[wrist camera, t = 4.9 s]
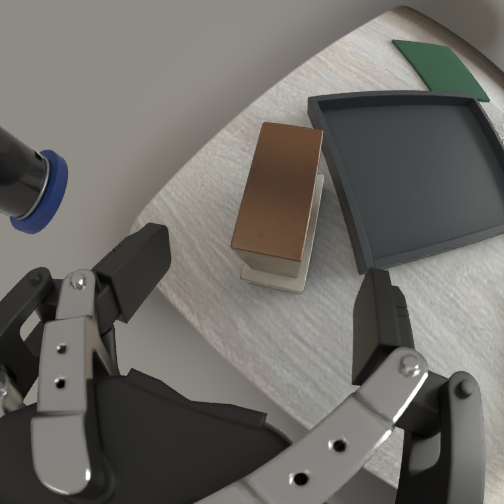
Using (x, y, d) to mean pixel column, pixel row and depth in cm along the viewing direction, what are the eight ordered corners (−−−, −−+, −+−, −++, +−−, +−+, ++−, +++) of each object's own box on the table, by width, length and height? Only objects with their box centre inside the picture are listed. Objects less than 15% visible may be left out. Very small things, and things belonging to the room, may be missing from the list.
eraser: (301, 294, 18) (310, 283, 11) (244, 281, 19) (213, 262, 11) (321, 186, 20) (335, 120, 12) (269, 177, 21) (256, 109, 13)
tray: (358, 275, 18) (366, 271, 16) (307, 112, 21) (307, 96, 19) (521, 226, 16) (534, 220, 14) (466, 105, 20) (473, 94, 18)
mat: (434, 97, 20) (435, 95, 20) (391, 41, 22) (392, 39, 22) (489, 102, 19) (490, 100, 19) (448, 48, 22) (449, 47, 21)
